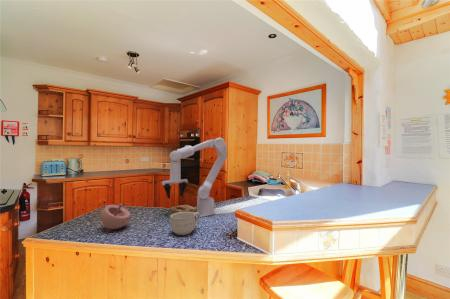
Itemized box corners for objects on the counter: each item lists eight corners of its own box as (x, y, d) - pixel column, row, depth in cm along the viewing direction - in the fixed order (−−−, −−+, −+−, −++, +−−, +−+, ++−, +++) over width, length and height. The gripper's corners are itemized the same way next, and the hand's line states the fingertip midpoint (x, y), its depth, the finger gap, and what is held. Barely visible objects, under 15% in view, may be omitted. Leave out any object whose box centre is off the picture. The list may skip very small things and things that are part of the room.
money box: (186, 216, 112) (186, 204, 112) (196, 221, 104) (196, 208, 104) (170, 219, 106) (170, 207, 106) (179, 225, 98) (180, 211, 98)
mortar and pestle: (123, 233, 88) (124, 206, 88) (94, 234, 87) (95, 207, 88) (134, 223, 100) (134, 200, 100) (108, 224, 99) (109, 200, 100)
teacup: (173, 239, 83) (173, 219, 83) (167, 230, 92) (167, 212, 92) (205, 233, 89) (206, 215, 89) (197, 225, 99) (197, 208, 99)
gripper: (183, 171, 122) (183, 194, 122) (159, 172, 113) (159, 197, 113) (189, 172, 117) (189, 196, 117) (165, 173, 108) (164, 199, 108)
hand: (175, 196), depth 115 cm, fingers open, 7 cm apart
